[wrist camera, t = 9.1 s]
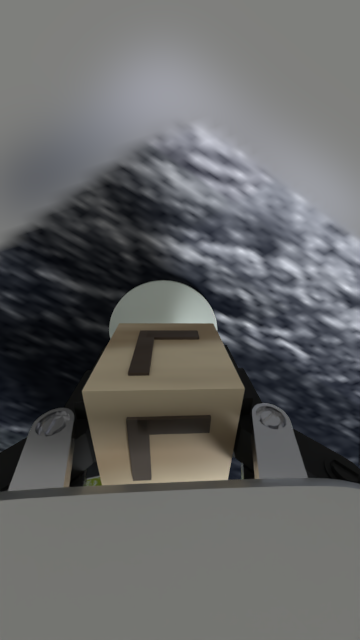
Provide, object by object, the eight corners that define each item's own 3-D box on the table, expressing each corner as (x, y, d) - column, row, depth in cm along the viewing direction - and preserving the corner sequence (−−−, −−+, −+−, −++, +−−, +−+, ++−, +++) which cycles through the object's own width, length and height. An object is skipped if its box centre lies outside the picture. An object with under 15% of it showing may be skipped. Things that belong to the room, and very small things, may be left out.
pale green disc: (116, 375, 17) (115, 379, 16) (104, 279, 14) (102, 280, 13) (211, 373, 17) (212, 377, 17) (220, 280, 14) (222, 281, 14)
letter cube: (119, 321, 11) (79, 391, 6) (213, 321, 11) (246, 388, 6) (126, 396, 13) (101, 493, 8) (206, 394, 13) (227, 487, 8)
